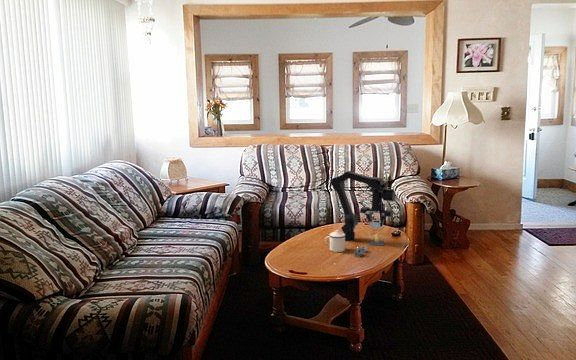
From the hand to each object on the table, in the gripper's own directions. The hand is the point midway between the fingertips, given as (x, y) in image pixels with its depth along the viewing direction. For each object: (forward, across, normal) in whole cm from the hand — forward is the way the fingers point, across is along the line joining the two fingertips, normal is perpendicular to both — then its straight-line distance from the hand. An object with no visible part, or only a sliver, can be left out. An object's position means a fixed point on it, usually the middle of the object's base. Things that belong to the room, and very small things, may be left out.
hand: (376, 225), depth 284 cm
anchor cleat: (+11, +1, +24) cm, 26 cm away
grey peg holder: (+11, 0, -1) cm, 11 cm away
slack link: (+11, +1, +17) cm, 20 cm away
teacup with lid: (+11, +16, +21) cm, 29 cm away
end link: (+1, 0, 0) cm, 1 cm away
